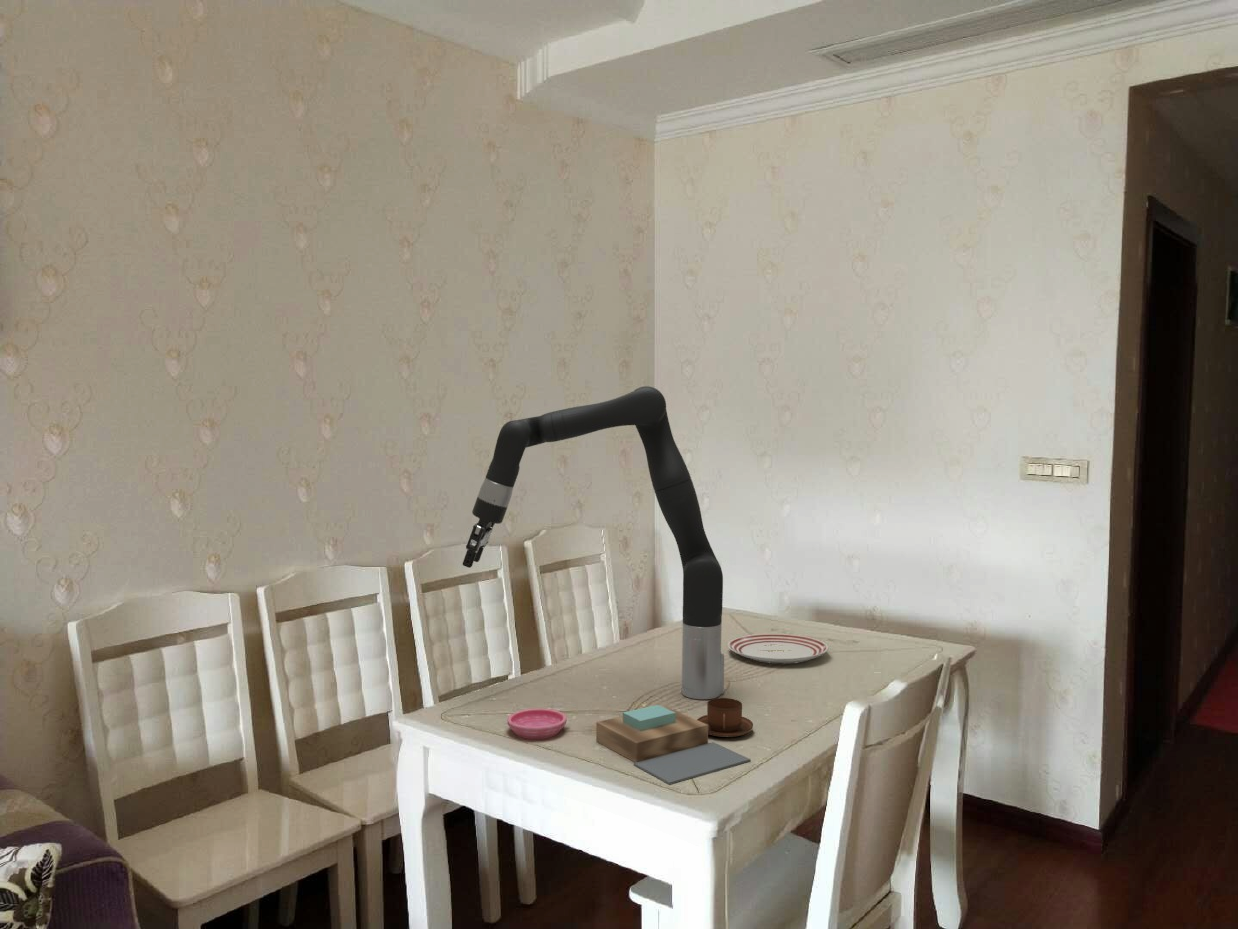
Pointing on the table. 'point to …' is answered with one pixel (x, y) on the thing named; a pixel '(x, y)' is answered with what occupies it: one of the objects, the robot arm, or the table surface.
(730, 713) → the cup and saucer
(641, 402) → the robot arm
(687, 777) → the mat
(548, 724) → the pink round bowl
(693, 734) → the wooden block
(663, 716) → the teal rectangular block
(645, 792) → the table surface
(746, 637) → the dinner plate
